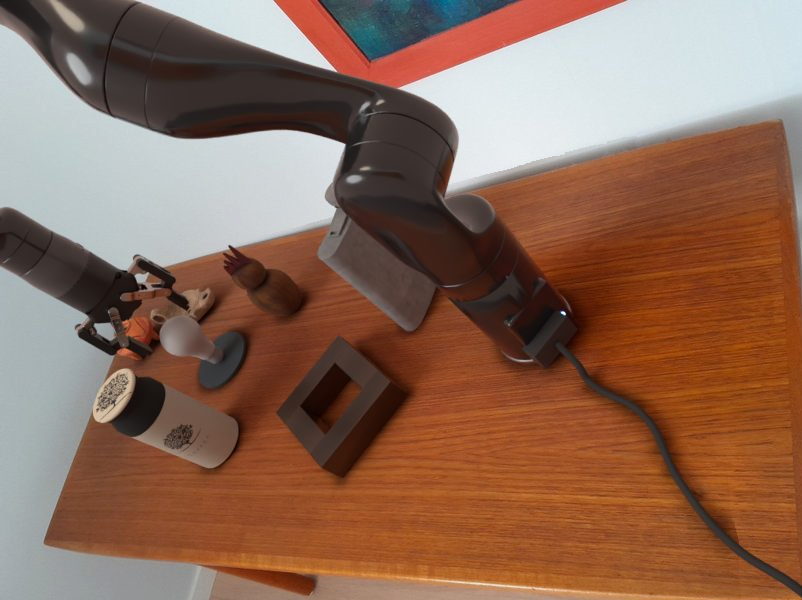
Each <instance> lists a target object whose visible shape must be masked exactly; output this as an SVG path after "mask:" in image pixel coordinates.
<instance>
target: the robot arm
mask: <svg viewBox="0 0 802 600" xmlns="http://www.w3.org/2000/svg"><path fill="white" fill-rule="evenodd" d="M0 26H3V27H5V28H7V29H9V30H11V31H12V32H14V33H16V34H17V35H18V36H19V37H20V38H22V40H24V41H25V42H26V43H27V44H28V45H29V47H31V49H33V51H34V52H35V53H36V55H38V56H39V58H40V59H41V60H42V61H43V63H44V64H45V65H46V66H47V67H48V68H49V69H50V71H52V73H53V74H54V75H55V76H56V77H57V79H59V81H60V82H61V83H62V84H63V85H64V86H65V87H66V88H67V89H68V90H69V91H70V92H71V93H72V94H73V95H74V96H76V97H77V98H78V99H79V100H80V101H82V102H83V103H84V104H85V105H86V106H88V107H90V108H91V109H93V110H94V111H96V112H98V113H100V114H103V115H105V116H108V117H111V118H113V119H116V120H119V121H121V122H124V123H127V124H130V125H133V126H136V127H139V128H141V129H144V130H147V131H149V132H153V133H156V134H158V135H162V136H165V137H168V138H172V139H178V140H208V139H209V140H210V139H219V138H220V139H221V138H228V137H233V136H240V135H247V134H254V133H262V132H273V131H289V132H290V131H291V132H298V133H305V134H310V135H314V136H317V137H322V138H325V139H329V140H332V141H335V142H339V143H341V144H343V145H344V147H343V150H342V153H341V155H340V159H339V160H338V164H337V166H336V169H335V172H334V175H333V178H332V182H333V183H332V182H331V183H332V190H333V194H334V197H335V199H336V201H337V203H338V205H339V206H340V208H341V209H342V210H343V212H344V213H345V214H346V215H347V216H348V217H349V218H350V219H351V220H352V221H353V222H354V223H355V224H356V225H358V226H359V227H360V228H361V229H362V230H363V231H365V232H366V233H367V234H368V235H369V236H371V237H372V238H373V239H374V240H376V241H377V242H378V243H379V244H380V245H381V246H383V247H384V248H385V249H386V250H387V251H389V252H390V253H391V254H392V255H393V256H394V257H396V258H397V259H398V260H399V261H401V262H402V263H403V264H405V265H407V266H408V267H410V268H412V269H414V270H416V271H418V272H420V273H422V274H423V275H425V276H426V277H427V278H428V279H429V280H430V281H431V282H432V283H433V284H434V285H435V286H436V288H437V289H438V290H439V291H440V292H441V294H443V295H444V296H445V297H446V298H447V299H448V300H449V301H450V302H451V303H452V304H453V305H454V306H455V307H456V308H457V309H458V310H459V311H460V312H461V313H462V314H463V315H464V316H465V317H467V319H468V320H469V321H470V322H472V324H474V325H475V326H476V327H477V328H478V329H479V331H481V332H482V333H483V335H485V336H486V337H487V338H488V339H489V340H490V342H492V343H493V344H494V345H495V346H496V347H497V348H498V349H499V350H500V352H501V353H502V354H503V355H504V356H505V357H506V358H507V359H508V360H510V361H512V362H513V363H514V364H519V365H523V366H532V365H534V366H535V365H539V366H540V367H542V368H544V369H545V370H548V369H549V367H550V366H551V365H552V363H553V362H554V361H555V359H557V357H558V356H559V355H560V353H561V354H562V355H563V356H564V357H565V358H566V359H567V360H568V361H569V362H570V363H571V364H572V365H573V367H574V368H575V369H576V371H577V372H578V374H579V376H580V378H581V379H582V380H583V382H584V383H585V384H586V385H587V386H588V387H590V388H591V389H592V390H593V391H595V392H596V393H598V394H599V395H601V396H603V397H604V398H606V399H608V400H611V401H613V402H615V403H618V404H620V405H622V406H624V407H626V408H628V409H629V410H631V411H632V412H633V413H635V414H636V415H637V416H638V417H639V418H640V419H641V420H642V421H643V422H644V423H645V425H646V426H647V427H648V429H649V431H650V433H651V434H652V436H653V438H654V441H655V443H656V445H657V448H658V449H659V453H660V456H661V457H662V460H663V462H664V464H665V467H666V468H667V471H668V472H669V474H670V476H671V478H672V479H673V481H674V482H675V484H676V485H677V487H678V489H679V490H680V492H682V494H683V496H684V498H685V499H686V500H687V502H688V503H689V504H690V506H691V508H692V509H693V510H694V511H695V513H696V514H697V515H698V517H699V518H700V519H701V520H702V521H703V523H704V524H705V525H706V526H707V527H708V529H709V530H710V531H711V532H712V533H713V534H714V535H715V536H716V537H717V538H718V539H719V540H720V541H721V542H722V543H723V544H724V545H726V546H727V548H729V549H730V550H731V551H732V552H733V553H734V554H736V555H737V557H739V558H741V560H743V561H744V562H746V563H747V564H748V565H751V566H752V567H754V568H755V569H757V570H759V571H760V572H762V573H764V574H766V575H767V576H769V577H771V578H772V579H774V580H776V581H778V583H781V584H782V585H784V586H786V588H788V589H789V590H791V591H792V592H794V594H796V595H797V596H799V597H800V598H801V599H802V584H800V583H799V582H798V581H797V580H795V579H794V578H792V577H791V576H789V575H788V574H786V573H784V572H783V571H781V570H779V569H777V568H776V567H774V566H772V565H771V564H769V563H768V562H766V561H764V560H762V559H760V558H759V557H757V556H756V555H754V554H752V553H751V552H749V551H748V550H747V549H745V548H744V547H743V546H742V545H740V544H739V543H738V542H737V541H735V539H734V538H732V537H731V535H729V533H727V531H725V530H724V529H723V528H722V527H721V526H720V525H719V523H717V522H716V521H715V519H713V517H712V516H711V515H710V514H709V512H708V511H707V510H706V509H705V507H704V506H703V505H702V503H701V502H700V500H698V498H697V497H696V495H695V494H694V492H693V491H692V490H691V488H690V487H689V485H688V484H687V482H686V481H685V480H684V478H683V477H682V475H681V473H680V471H679V469H678V468H677V466H676V464H675V463H674V460H673V458H672V455H671V453H670V451H669V448H668V446H667V444H666V441H665V439H664V437H663V435H662V432H661V431H660V429H659V427H658V425H657V424H656V423H655V421H654V420H653V418H652V417H651V416H650V414H649V413H647V412H646V411H645V410H644V408H642V407H641V406H639V404H637V403H635V402H634V401H633V400H630V399H628V398H626V397H625V396H621V395H619V394H617V393H616V392H615V393H614V392H612V391H610V390H608V389H606V388H605V387H603V386H602V385H600V384H599V383H597V382H596V381H595V380H594V379H593V378H592V377H591V376H590V375H589V374H588V372H587V370H586V369H585V367H584V365H583V364H582V362H581V361H580V360H579V359H578V358H577V357H576V355H574V354H573V353H572V352H571V350H570V349H568V347H566V346H567V344H568V343H569V342H570V341H571V339H573V337H574V335H575V334H576V333H577V332H578V329H579V327H580V326H581V323H580V321H578V319H577V318H576V317H575V316H574V311H573V309H572V306H571V305H570V304H569V302H568V301H567V300H566V298H565V297H564V296H563V295H562V294H561V293H560V292H559V290H558V289H557V288H556V286H555V285H554V284H553V283H552V282H551V280H550V279H549V277H547V275H546V274H545V273H544V271H543V270H542V269H541V268H540V266H539V265H538V264H537V263H536V261H535V259H533V257H532V255H530V253H529V252H528V251H527V250H526V248H525V247H524V245H522V243H521V242H520V241H519V239H518V238H517V237H516V235H515V234H514V232H513V231H512V230H511V229H510V228H509V226H508V225H507V223H506V222H505V220H504V219H503V218H502V217H501V216H500V214H499V213H498V212H497V210H496V209H495V208H494V207H493V205H492V204H491V203H490V202H489V201H488V200H487V199H486V198H484V197H483V196H480V195H478V194H474V193H467V192H466V193H457V194H453V195H451V196H448V197H446V198H445V196H446V193H447V190H448V186H449V184H450V180H451V176H452V173H453V169H454V164H455V161H456V157H457V155H458V154H457V153H458V149H459V143H460V134H459V131H458V129H457V127H456V124H455V122H454V121H453V120H452V118H451V117H450V116H449V114H447V112H445V111H444V110H443V109H442V108H441V107H439V106H438V105H436V104H435V103H433V102H431V101H429V100H427V99H425V98H423V97H422V96H419V95H417V94H415V93H412V92H409V91H406V90H404V89H400V88H397V87H394V86H391V85H387V84H384V83H380V82H377V81H373V80H369V79H365V78H362V77H358V76H354V75H350V74H347V73H342V72H339V71H335V70H331V69H327V68H324V67H320V66H317V65H313V64H310V63H306V62H303V61H300V60H296V59H293V58H290V57H287V56H285V55H282V54H279V53H276V52H274V51H270V50H266V49H264V48H262V47H259V46H256V45H253V44H250V43H247V42H245V41H242V40H239V39H236V38H233V37H230V36H228V35H225V34H222V33H219V32H217V31H215V30H212V29H210V28H207V27H205V26H202V25H200V24H198V23H195V22H194V21H191V20H188V19H187V18H184V17H181V16H179V15H175V14H173V13H171V12H168V11H165V10H163V9H160V8H157V7H156V6H155V7H154V6H152V5H149V4H147V3H143V2H142V1H138V0H0ZM0 268H2V269H4V270H5V271H7V272H9V273H11V274H13V275H15V276H16V277H18V278H20V279H22V280H24V281H25V282H26V283H27V284H29V285H30V286H32V287H34V288H35V289H36V290H39V291H41V292H43V293H44V294H46V295H48V296H50V297H52V298H54V299H56V300H57V301H60V302H61V303H63V304H65V305H67V306H69V307H71V308H73V309H75V310H76V311H79V312H81V313H82V314H83V315H85V316H87V317H86V319H85V320H83V322H82V323H77V324H75V325H74V330H75V332H76V334H77V336H78V338H79V339H80V340H83V341H84V342H86V343H88V344H89V345H91V346H93V347H94V348H95V349H98V350H99V351H101V352H103V353H105V354H107V355H108V356H110V357H111V356H116V355H117V354H118V353H117V351H118V350H120V349H122V348H126V349H128V350H130V351H132V352H134V353H136V354H138V355H139V356H140V357H146V356H149V357H151V355H153V353H154V351H153V349H152V348H151V347H150V346H149V345H148V346H147V345H146V344H144V343H142V342H140V341H138V340H136V339H134V338H132V337H130V336H129V335H128V336H126V332H125V329H124V326H123V324H122V322H124V321H126V320H130V319H132V317H133V315H134V313H135V311H136V310H138V309H139V308H140V307H141V306H142V305H143V300H153V299H155V298H163V297H165V298H166V300H168V301H169V302H171V303H172V302H173V303H174V304H176V305H178V306H179V307H181V308H183V309H184V310H186V311H188V309H189V308H190V306H189V305H188V303H189V302H188V300H187V299H186V298H185V296H183V295H182V294H181V293H180V292H178V291H177V290H175V289H173V285H175V283H176V282H177V278H176V277H175V276H174V275H173V274H172V272H171V271H170V270H168V269H166V268H164V267H163V266H160V265H159V264H158V263H155V262H154V261H152V260H150V259H148V258H146V257H145V256H143V255H141V254H139V253H137V254H134V255H133V256H132V263H131V264H130V266H129V267H128V268H127V269H120V268H118V267H117V266H115V265H113V264H111V263H110V262H108V261H107V260H105V259H103V258H102V257H100V256H99V255H96V254H95V253H93V252H92V251H90V250H89V249H87V248H85V247H84V245H82V244H80V243H78V242H75V241H74V240H72V239H71V238H68V237H66V236H64V235H62V234H59V233H57V232H55V231H54V230H51V229H50V228H49V227H47V226H45V225H43V224H42V223H40V222H38V221H37V220H35V219H33V218H31V217H30V216H28V215H26V214H25V213H23V212H22V211H20V210H18V209H16V208H14V207H10V206H2V207H0ZM147 273H148V274H150V275H151V276H154V277H155V278H158V279H159V280H160V282H148V281H142V282H141V281H140V282H138V281H137V277H136V275H147ZM95 324H97V325H99V324H110V326H111V328H112V332H113V335H114V334H115V337H116V338H115V337H114V338H113V339H111V340H110V339H108V338H106V337H105V336H104V335H101V334H100V333H98V330H97V328H96V327H95Z"/></svg>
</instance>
